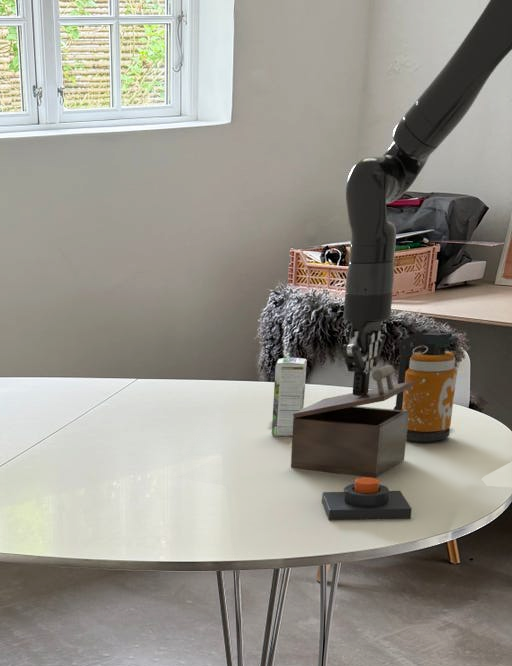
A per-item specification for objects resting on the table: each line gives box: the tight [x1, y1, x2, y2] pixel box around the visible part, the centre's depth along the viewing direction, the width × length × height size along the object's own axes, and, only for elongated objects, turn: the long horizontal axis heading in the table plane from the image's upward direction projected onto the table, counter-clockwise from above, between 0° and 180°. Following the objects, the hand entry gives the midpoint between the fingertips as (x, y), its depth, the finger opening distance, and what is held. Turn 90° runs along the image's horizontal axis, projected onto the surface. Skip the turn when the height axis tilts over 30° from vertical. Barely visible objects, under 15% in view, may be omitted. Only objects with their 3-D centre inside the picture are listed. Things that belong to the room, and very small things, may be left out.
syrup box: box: [271, 357, 308, 437], centre depth 191 cm, size 6×6×14 cm
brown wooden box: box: [290, 405, 409, 479], centre depth 170 cm, size 16×13×9 cm
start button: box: [354, 476, 380, 493], centre depth 147 cm, size 4×4×2 cm
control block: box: [321, 483, 412, 521], centre depth 148 cm, size 12×9×4 cm
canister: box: [392, 329, 459, 443], centre depth 180 cm, size 9×11×20 cm
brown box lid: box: [293, 364, 414, 418], centre depth 166 cm, size 17×13×5 cm
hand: (360, 394), depth 166 cm, fingers closed
